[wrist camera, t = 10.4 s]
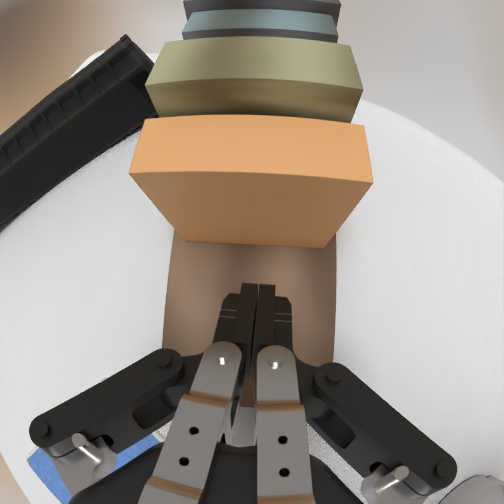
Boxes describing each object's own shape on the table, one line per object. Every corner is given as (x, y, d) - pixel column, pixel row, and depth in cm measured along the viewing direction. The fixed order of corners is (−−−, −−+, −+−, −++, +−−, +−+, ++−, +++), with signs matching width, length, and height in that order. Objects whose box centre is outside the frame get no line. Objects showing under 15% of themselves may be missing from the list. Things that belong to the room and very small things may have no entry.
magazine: (181, 19, 18) (-94, 150, 7) (193, 31, 17) (-102, 174, 6) (172, 140, 34) (-25, 229, 22) (181, 157, 33) (-24, 250, 22)
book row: (323, 112, 25) (350, -2, 12) (323, 402, 19) (402, 491, 6) (203, 108, 26) (175, -6, 13) (166, 391, 19) (58, 455, 6)
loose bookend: (322, 209, 21) (363, 125, 11) (323, 248, 20) (373, 182, 10) (190, 203, 21) (145, 119, 11) (185, 241, 20) (128, 173, 11)
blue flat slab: (112, 372, 20) (104, 374, 19) (216, 477, 18) (214, 484, 16) (29, 455, 17) (22, 458, 16) (104, 535, 15) (99, 540, 13)
